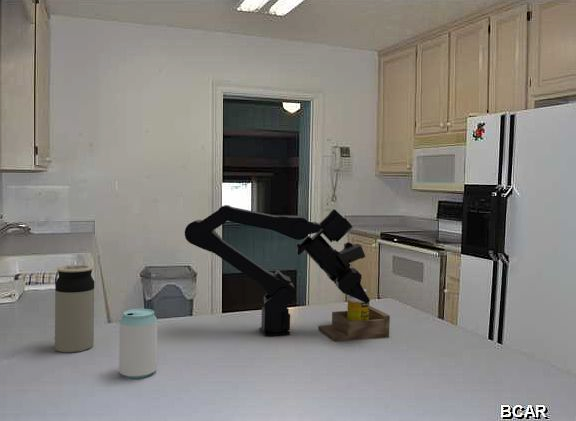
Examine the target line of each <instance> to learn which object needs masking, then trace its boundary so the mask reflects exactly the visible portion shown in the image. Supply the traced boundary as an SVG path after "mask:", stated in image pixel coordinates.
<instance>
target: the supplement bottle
mask: <svg viewBox="0 0 576 421" xmlns="http://www.w3.org/2000/svg"><path fill="white" fill-rule="evenodd" d="M363 289H364V291H365V293H366V294H367V295H368V293H367V291H368V290H367V289H365V288H363ZM369 306H370V301H369V302H368V303H365V302H363V301H361V300H358V299H356V298H354V297H352V296H349V295H348V297H347V310H346V311H347V319H348V320H350V321H361V320H369Z"/></svg>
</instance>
